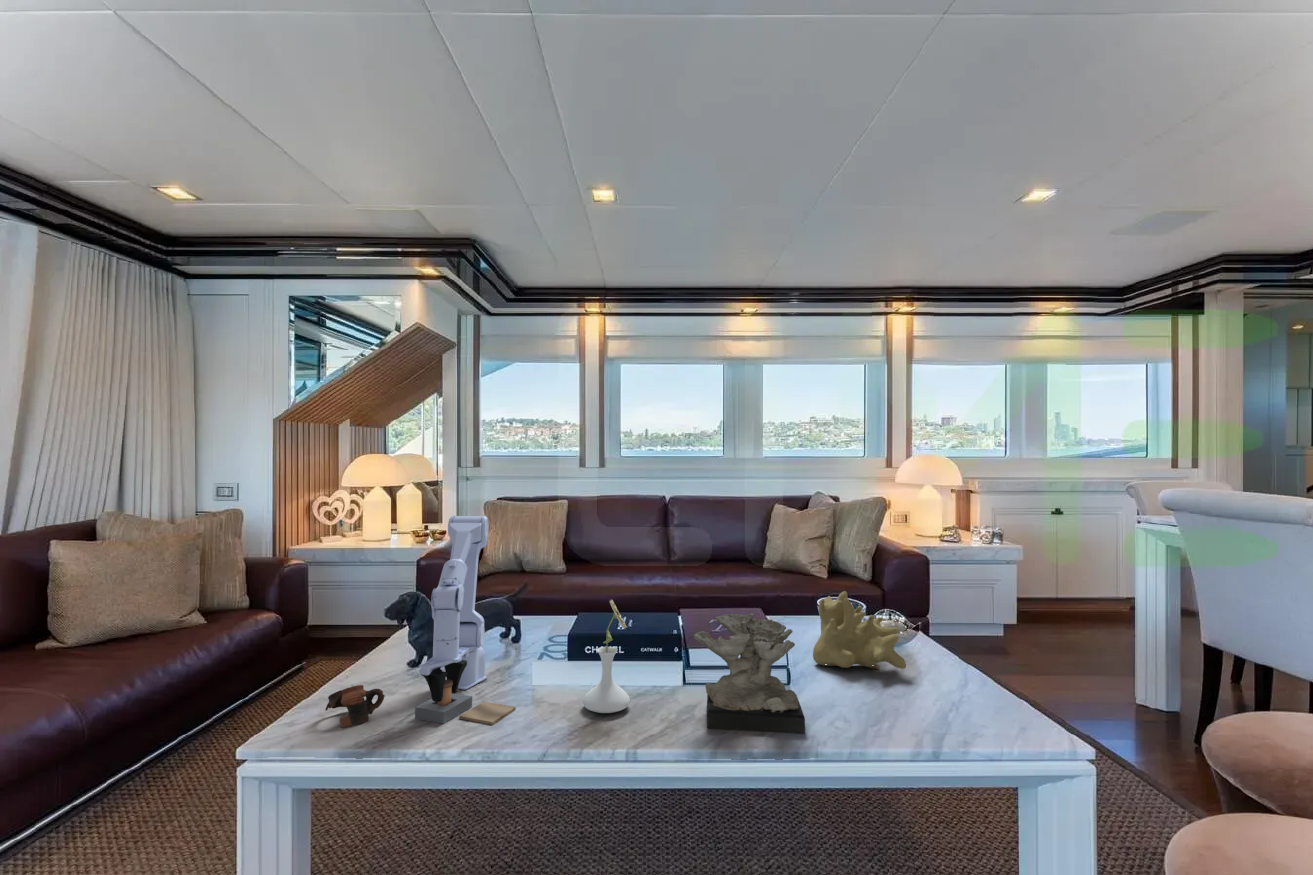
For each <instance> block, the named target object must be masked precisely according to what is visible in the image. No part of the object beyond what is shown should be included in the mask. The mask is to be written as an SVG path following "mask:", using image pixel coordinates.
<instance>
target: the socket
mask: <svg viewBox="0 0 1313 875" xmlns="http://www.w3.org/2000/svg"><path fill="white" fill-rule="evenodd" d="M472 708H473V696H471V695H466V694H462V693H461V694H460V693H455V694H453V693H451V703H450V704H448V705H447V706H443V705H438V702H436V701H433V700H432V698H430V699H428V700H426V701H424V702H422V703H420V704H418V705H417V706H415V707H414V719H417V720H421V721H428V722H432V723H438V724H446V723H448V722H449V721H451V720H453V719H454V718H456V717H458V716H460V715H462V714H464V713H465V712H467V711H469V710H470V709H472Z"/></svg>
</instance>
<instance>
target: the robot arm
mask: <svg viewBox="0 0 1313 875" xmlns="http://www.w3.org/2000/svg"><path fill="white" fill-rule="evenodd" d="M489 528H490V526H489V518H488V517H487V515H451V516H450V518H449V519H448V523H447V534H448V537H449V540H450V542H451V544H452V545H451V552H450V558H449V560H447V561H446V562H445V563H444V564H443V566H442V567H443V568H442V570H441V574H440V578H439V581H438V585H437V587H436V588H435V587H434V588H433V589H432V592H431V598H430V606H431V607H430V608H431V617H432V619H433V640H432V641H433V642H432V643H433V645H432V657H431V658H430V659H428V660H427V661H426V662H425V663H423V664H422V665H420V675H422V676H423V678H424V679H425V681H426V683H427V685H428V687H429V691H430V692H429V693H430V695H431V699H432V700H433V701H436V702H440V701H442V697H443V687H444V682H445V680H446V679H449V680H452V681H453V685H452V693H453V694H457V691H458V690H464V691H465V690H468V689H470V688H472V687H473V686H475V685H478V684H479V683H481V682H484V680H486V679H488V675H487V676H486V673H485V672H486V652H485V649H484V648H483V647H482V646H483V645H484V642H485V632H486V631H485V630H486V629H485V619H484V617H483V616H482V615H481V614H480V613H479V612H477V611H476V610H475V609H476V596H477V583H478V571H479V570H478V569H479V568H478V567H479V557H480V553H481V550H482V549H483V548H485V547H487V544H488V540H489V530H490V529H489ZM460 622H461V623H460ZM462 622H463V623H462ZM464 622H466V623H464ZM467 622H471V623H467ZM472 622H473V623H472ZM441 668H444V671H443V669H441Z"/></svg>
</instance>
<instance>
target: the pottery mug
mask: <svg viewBox="0 0 1313 875" xmlns="http://www.w3.org/2000/svg"><path fill="white" fill-rule="evenodd" d="M375 696H377V700H376V701H375V702H374V703H373V699H374V697H375ZM385 698H386V696H385V694H384V691H383V690H382V689H380V688H372V689H370V690H365V688H364V685H363V684H359V685H358V684H357V685H352V686H349V687H346V688H343V689H341V690H337V691H336V692H333V693H331V694H330V695H328V697H327V699H328V703H327V704H326V706H325V710H324V711H325V712H326V711H327V712H328V710H329V709H337V708H346V709H347V712H348V714H346V715H344V716H341V717H340V718H339V722H340V726H341V728H342V729H344V728H347V727H350V726H353V725H356V724H361V723H364V722H368V721H369V715H373V713H374V711H375V710H376V709H379V707H380V706H381V705H382V703H383V702H384V700H385Z"/></svg>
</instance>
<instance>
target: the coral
mask: <svg viewBox="0 0 1313 875" xmlns="http://www.w3.org/2000/svg"><path fill="white" fill-rule="evenodd" d="M714 620H716V621H717V622H718V623H720V625H721V626H722V627H724V628H725V629H726V630H727V631H728V632H729V634H730V635H731V636H730V635H729V637H728V638H729V639H725V638H723V637H722V635H720V636H718V639H713V638H712V635H711V634H709V632H708V631H707V632H706V631H699V632H696V633H695V634H694V635H693V637H694V639H695V640H696V641H697V642H698V643H699V644H701V645H703V646H704V647H706V648H707V650H708V649H709V651H711V652H712V653H714V654H715V655H717V656H718V657H720V658H721V659H722V660H723V661H724V662H725V663H726V666H727V667H728V668H729V674H726V675H725V674H724V675H722V676H721V677H719V680H718V681H717V682H716V683H710V682H706V683H705V690H706V728H707V729H716V730H717V729H719V730H733V731H734V730H735V731H736V730H737V731H748V732H749V731H750V732H751V731H752V732H769V733H783V734H784V733H785V734H802V735H803V734H806V719H805V715H804V711H803V709H802V706H801V703H800V701H799V698H798V696H797V693H796V692H795V691H794V690H792V689H786V686H785V684H784V682H782V681H781V680H780V679H779V678H778V677H777V676H773V675H771V674H772V668H771V667H772V665H774V664H775V663H776V662H778V661H779V660H780V659H781V658H784V656H786V654H787V653H788V652H790V650H792V649H793V648H794V647H795V646H796V644H795V642H793V641H791V640H789V639H788V638H789V637H790V635H791V634H793V629H791V628H788V629H787V626H786V625H784V624H782V623H781V622H779V621H777V620H776V621H775V620H773V619H771V618H770V619H769V618H768V619H760V618H759V619H757V618H754V613H748V614H747V615H746V614H744V615H743V614H737V613H735V614H734V613H730V614H729V613H727V614H722V615H718V616H715V617H714ZM786 629H787V630H786ZM787 639H788V640H787Z"/></svg>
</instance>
